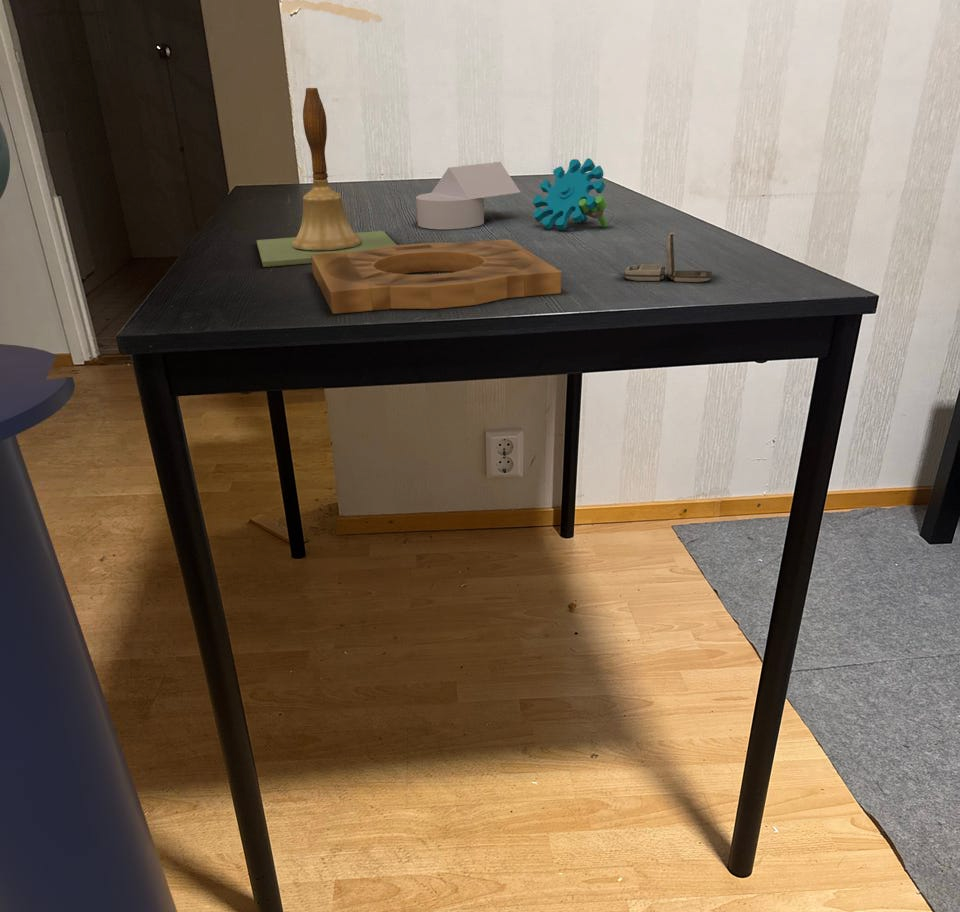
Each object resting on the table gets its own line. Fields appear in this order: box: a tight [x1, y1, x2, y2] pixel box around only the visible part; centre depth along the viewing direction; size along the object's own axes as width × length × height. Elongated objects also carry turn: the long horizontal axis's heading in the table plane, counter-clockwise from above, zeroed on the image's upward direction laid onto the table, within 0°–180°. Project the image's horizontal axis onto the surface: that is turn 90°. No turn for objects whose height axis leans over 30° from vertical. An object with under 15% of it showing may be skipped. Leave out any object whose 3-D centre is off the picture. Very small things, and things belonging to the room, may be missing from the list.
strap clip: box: [624, 231, 713, 283], centre depth 87 cm, size 8×3×4 cm, turn 76°
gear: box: [532, 157, 609, 230], centre depth 114 cm, size 11×6×10 cm
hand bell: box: [292, 87, 362, 251], centre depth 101 cm, size 8×8×16 cm
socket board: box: [311, 238, 562, 315], centre depth 89 cm, size 22×21×2 cm
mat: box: [256, 230, 398, 268], centre depth 106 cm, size 16×14×1 cm
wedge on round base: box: [415, 161, 522, 230], centre depth 118 cm, size 9×7×13 cm
